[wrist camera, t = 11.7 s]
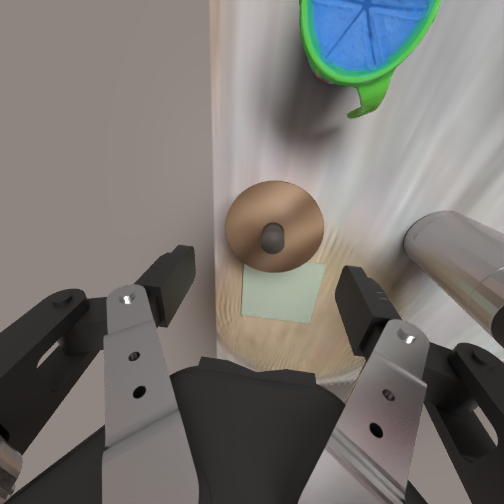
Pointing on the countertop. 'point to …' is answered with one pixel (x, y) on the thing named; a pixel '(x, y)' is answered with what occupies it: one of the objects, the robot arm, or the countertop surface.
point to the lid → (274, 226)
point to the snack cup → (362, 41)
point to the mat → (282, 293)
